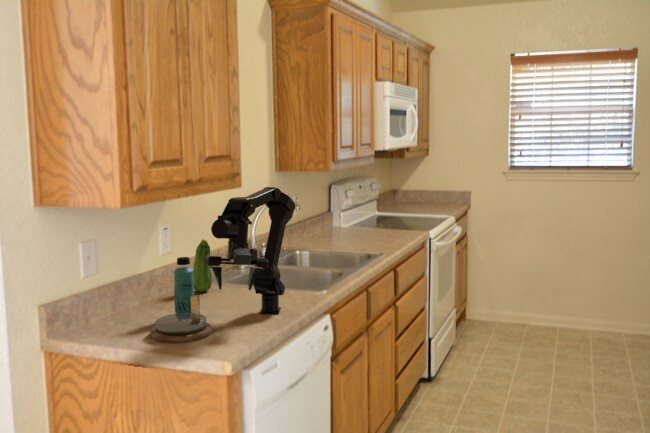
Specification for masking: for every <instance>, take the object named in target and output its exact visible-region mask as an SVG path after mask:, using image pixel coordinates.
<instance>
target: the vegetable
mask: <svg viewBox="0 0 650 433" xmlns="http://www.w3.org/2000/svg"><path fill="white" fill-rule="evenodd" d="M207 255H210V256H211V246H210V245H209V242H208V241H207V240H206V239H203V238H202V239H201V241H200V242H199V244H198V246H196V249H195V255H194V256H195V257H194V264H193V278H194V291H195V292H198V293H203V292H206V291H209V290H210V289H211V287H212V280H213V277H212V268H209V266H208V265H205V257H206V256H207Z"/></svg>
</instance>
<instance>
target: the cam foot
mask: <svg viewBox="0 0 650 433" xmlns="http://www.w3.org/2000/svg"><path fill="white" fill-rule="evenodd" d="M200 297H201V296H200V295H195V294H194V296H191V313H180V314H176V313H173V314H168V315H163V316H161V317H159V318H157V319H156V320H155V323H154V324H155V326H156V332H158V333H160V334H163V335H188V334H193V333H197V332H200V331H203V330H204V329H206V327H207V323H208V322H207V319H208V318H207V316H205V315H204V314H201V304H200V303H201V302H200V300H201V298H200Z"/></svg>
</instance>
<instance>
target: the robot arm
mask: <svg viewBox="0 0 650 433" xmlns="http://www.w3.org/2000/svg"><path fill="white" fill-rule="evenodd" d="M264 205H265V206H266V207H267V208H268V216H269V219H270V221H271V222H270V226H269V232H268V237H267V241H266V246H265V250H264V251H265V252H264V256H262V257H261V256H258V254H259V253H258V249H257V248H250V249H249V243H248V241H249V240H248V237H249V236H248V235H249V225H251V226H252V224H253V222H252V220H251V219H249V217H251V216H252V215H253V214H254V213H255V212H256V209H257V208H260V207H261V206H264ZM295 209H296V204H295V202H294V200H293V199H292V198H291V196H289V195H287V193H285V192H283V191H281V189H280V188H278V187H276V186H275V187H274V186H273V187H272V186H266V187H264V188H263V189H261V190H258V191H256V192H253V193H252V194H249V195H247V196H236V197H231V198H229V200H228V202H227V203H226V206H225V207H224V209H223V211H222V213H221V215H217V219H215V221H213V223H212V225H211V228H210V231H211V235H212V236H213V237H214V238H216V239H219V240H220V239H221V240H224V239H226V240H228V241H227V255H226V258H225V257H224V258H222V256H219V255H211V254H210V255H207V256H206V257H205V265H208V266H209V268H211V271H212V272H213V275H215V276H214V277H215V280H216V283H217V285H218V289H219V290H222V287H223V286H222V285H223V284H222V283H223V280H222V271H223V270H222V269H223V266H221V265H236V266H237V265H239V266H241V265H242V266H245V265H246V266H250V267H249V275H248V286H247V287H248V288H247V289H248V291H251V290H252V288H254V292H255V294H257V295H258V294H260V295H261V308H260V310H259V314H262V315H264V314H268V315H269V314H270V315H271V314H272V315H273V314H277V315H278V314H279V315H280V312H281V310H282V307H280V303H279V302H280V300H279V299H280V297H279V296H283V295H284V294H285V291H286V286H285V285H284V283H283V282H282V281H281V272H280V269H279V267H278V265H279V260H280V256H281V251H282V250H281V249H282V245H283V240H284V235H285V231H286V230H285V229H286V225H287V224H288V222H290V220H291V219H292V218H293V214H294V212H295Z"/></svg>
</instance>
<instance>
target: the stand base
mask: <svg viewBox="0 0 650 433" xmlns="http://www.w3.org/2000/svg"><path fill="white" fill-rule="evenodd" d="M212 333H213V325H212V324H210V323H209V322H207V327H206V329H204V330H203V331H200V332H197V333H193V334H188V335H163V334H160V333H158V332H156V325H154V327H152V328H151V329H150V337H151V339H152V340H153V341H156V342H159V343H165V344H185V343H192V342H196V341H200V340H203V339H206V338H209V337H210V336H211V335H212Z"/></svg>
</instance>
